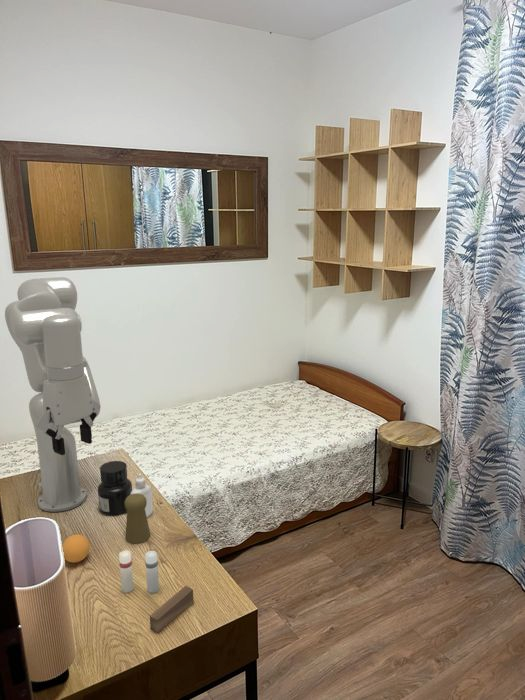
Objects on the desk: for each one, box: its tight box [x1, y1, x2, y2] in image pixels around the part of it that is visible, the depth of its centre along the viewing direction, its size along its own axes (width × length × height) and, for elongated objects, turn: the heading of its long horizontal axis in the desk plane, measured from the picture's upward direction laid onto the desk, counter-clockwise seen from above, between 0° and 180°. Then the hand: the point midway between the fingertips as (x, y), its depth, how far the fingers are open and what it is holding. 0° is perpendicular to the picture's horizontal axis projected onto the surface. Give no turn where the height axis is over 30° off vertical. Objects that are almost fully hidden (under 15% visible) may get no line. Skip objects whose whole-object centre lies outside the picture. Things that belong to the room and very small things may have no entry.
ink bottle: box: [97, 460, 133, 516], centre depth 139 cm, size 10×9×12 cm
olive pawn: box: [124, 493, 151, 545], centre depth 126 cm, size 6×6×11 cm
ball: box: [61, 534, 91, 564], centre depth 119 cm, size 6×6×6 cm
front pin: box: [118, 549, 135, 594], centre depth 109 cm, size 2×2×8 cm
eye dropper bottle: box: [130, 473, 154, 518], centre depth 135 cm, size 4×6×12 cm
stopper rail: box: [149, 585, 195, 634], centre depth 103 cm, size 2×10×3 cm, turn 145°
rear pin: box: [144, 550, 160, 594], centre depth 109 cm, size 2×2×8 cm
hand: (73, 447), depth 118 cm, fingers open, 6 cm apart
